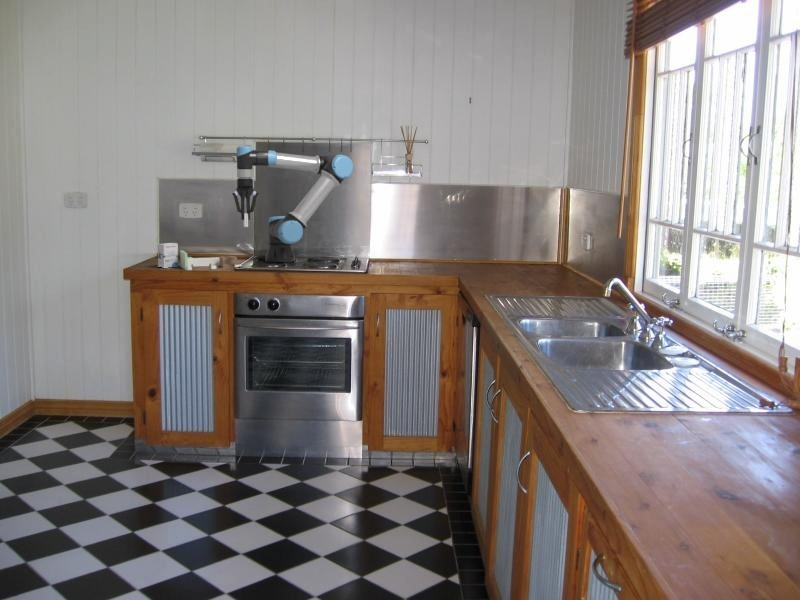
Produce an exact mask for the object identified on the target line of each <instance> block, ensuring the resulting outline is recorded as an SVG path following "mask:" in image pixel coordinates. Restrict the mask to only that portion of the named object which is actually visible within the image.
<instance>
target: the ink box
mask: <svg viewBox="0 0 800 600" xmlns="http://www.w3.org/2000/svg"><path fill="white" fill-rule="evenodd" d="M178 244H179V243H178V242H168V243H167V242H165V243H157V267H162V268H168V267H176V268H179V248H178V247H179V245H178ZM162 268H161V269H162ZM168 269H169V268H168Z"/></svg>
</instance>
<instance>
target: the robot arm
mask: <svg viewBox="0 0 800 600" xmlns="http://www.w3.org/2000/svg"><path fill="white" fill-rule="evenodd" d="M259 166H260V167H268V168H269V167H270V168H277V169H286V170H295V171H296V170H297V171H306V172H312V173H314V174H315V175H320V176H319V178H318V179H317V180H316V182H315V183H313V186H312V187H311V188H310V189H309V191H308V192H307V193H306V195H305V196H304V197H303V198H302V200H301V201H300V202H299V203H298V205H296V207H295V208H294V210H293V211H290V212H288V213H286V215H278V216H277V215H276V216H270V217H269V218H268V223H267V225H268V248H267V251H266V254H265V262H267V263H276V262H283V263H294V262H295V261H296V256H295V253H294V250H293V246H292V244H296V243H298V242H299V241H300V240H301V239H302V237H303V234H304V231H305V230H306V229H307V226H308V225H307V223H308V221H309V220H310V218H311V217H312V216H313V215H314V213H315V212H316V211H317V210H318V208H319V207H320V206H321V205H322V203H323V202H324V201H325V199H326V198H327V197H328V196H329V194H330V193H331V192H332V191H333V189H334V188H335V187H339V186H340V185H341V184H342V183H343V181H344V180H345V179H348V178H349V177H351V176H352V174H353V172H354V163H353V161H352V159H351V158H350V157H349V156H347V155H344V154H330V155H329V154H328V155H319V154H318V155H317V154H316V155H315V156H310V155H309V156H308V155H301V154H292V153H284V152H276V151H275V150H270V149H269V150H267V149H265V150H260V149H259V150H258V149H257V150H256V149H253V146H251V145H238V146H237V147H236V177H237V179H236V190H235V191H232V193H231V195H232V197H233V200H234V202H235V203H234V204H235V206H236V212H237V213H240V214H241V215H240V219H241V221H242V222H243V223H242V224H243V225H242V226H243V228H248V227H249V221H250V220H251V213H253V212H254V210H255V206H256V201H257V198H258V196H259V192H257V191H256V190H255V189H254V179H253V177H254V173H253V171H254V169H253V167H259ZM238 195H239V197H240V202H239V198H238ZM252 195H253V196H252ZM251 197H252V200H251ZM245 200H246V201H245ZM245 202H246V205H245ZM245 206H246V212H245ZM293 261H294V262H293Z"/></svg>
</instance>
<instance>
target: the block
mask: <svg viewBox="0 0 800 600" xmlns="http://www.w3.org/2000/svg"><path fill="white" fill-rule="evenodd" d="M218 257H219V263H220V266H219V267H220V268H222V269H227V268H228V269H229V268H233V263H235V265H238V256H234V255H223V256H222V255H221V256H218Z"/></svg>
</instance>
